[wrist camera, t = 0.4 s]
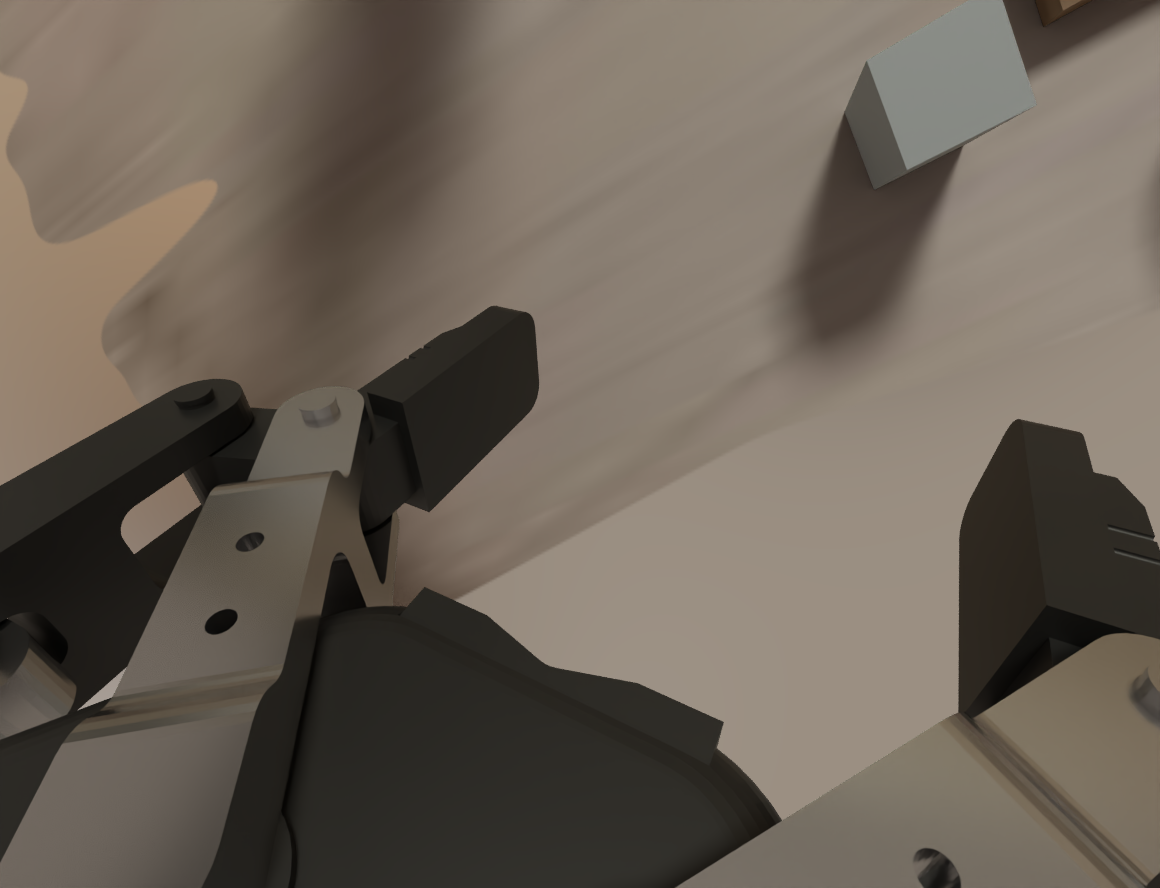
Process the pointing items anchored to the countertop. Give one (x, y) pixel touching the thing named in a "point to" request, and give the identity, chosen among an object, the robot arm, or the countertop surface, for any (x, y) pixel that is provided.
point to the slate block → (938, 90)
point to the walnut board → (1057, 8)
